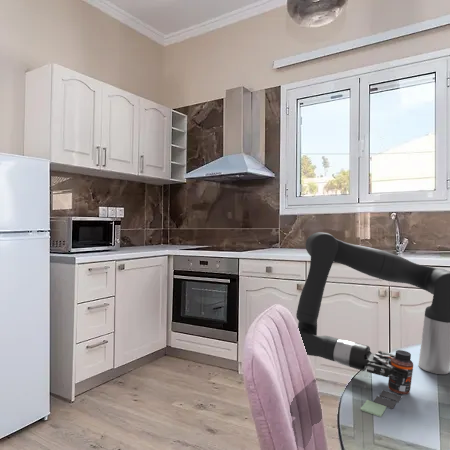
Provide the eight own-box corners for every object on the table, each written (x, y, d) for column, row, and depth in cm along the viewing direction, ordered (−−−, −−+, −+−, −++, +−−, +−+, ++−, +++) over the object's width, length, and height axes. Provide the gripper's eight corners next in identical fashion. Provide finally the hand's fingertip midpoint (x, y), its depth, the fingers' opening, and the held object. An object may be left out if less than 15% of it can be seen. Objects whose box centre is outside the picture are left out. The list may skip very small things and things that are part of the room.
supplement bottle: (408, 397, 115) (413, 358, 114) (385, 390, 118) (390, 352, 117) (411, 390, 120) (416, 352, 119) (389, 383, 123) (394, 346, 122)
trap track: (375, 388, 119) (375, 387, 119) (401, 397, 115) (401, 395, 115) (360, 410, 106) (360, 408, 106) (389, 420, 102) (389, 418, 102)
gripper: (345, 348, 120) (407, 366, 111) (359, 336, 132) (416, 351, 123) (343, 373, 121) (403, 392, 112) (357, 359, 133) (413, 375, 124)
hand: (410, 371), depth 117 cm, fingers open, 6 cm apart
